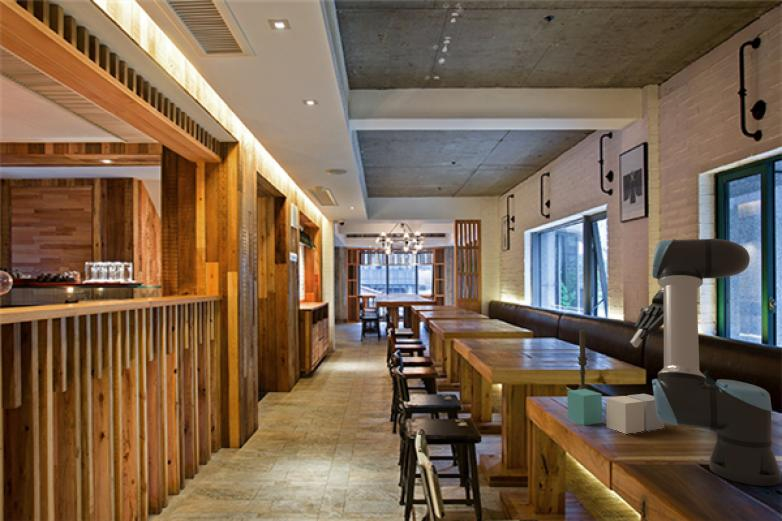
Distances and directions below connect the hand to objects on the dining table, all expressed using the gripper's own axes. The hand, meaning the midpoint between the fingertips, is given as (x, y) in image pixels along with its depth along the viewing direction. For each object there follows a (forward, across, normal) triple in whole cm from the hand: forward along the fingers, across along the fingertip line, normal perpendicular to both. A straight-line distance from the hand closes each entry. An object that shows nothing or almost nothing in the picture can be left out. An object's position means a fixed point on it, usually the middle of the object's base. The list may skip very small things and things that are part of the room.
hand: (633, 344), depth 183 cm
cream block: (+29, -10, -8) cm, 32 cm away
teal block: (+33, +3, -4) cm, 33 cm away
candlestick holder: (+22, +20, -15) cm, 33 cm away
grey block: (+23, -10, -14) cm, 29 cm away
